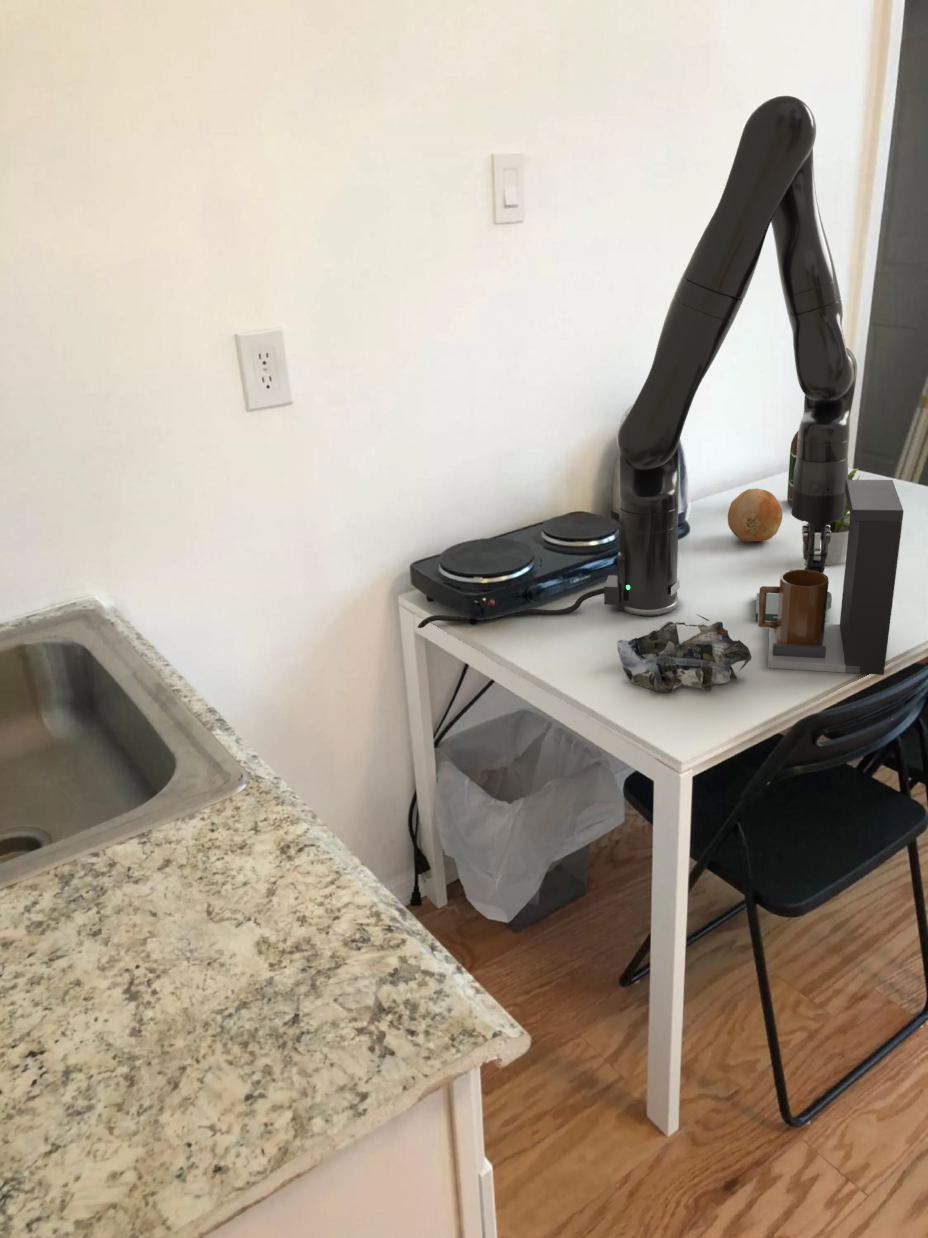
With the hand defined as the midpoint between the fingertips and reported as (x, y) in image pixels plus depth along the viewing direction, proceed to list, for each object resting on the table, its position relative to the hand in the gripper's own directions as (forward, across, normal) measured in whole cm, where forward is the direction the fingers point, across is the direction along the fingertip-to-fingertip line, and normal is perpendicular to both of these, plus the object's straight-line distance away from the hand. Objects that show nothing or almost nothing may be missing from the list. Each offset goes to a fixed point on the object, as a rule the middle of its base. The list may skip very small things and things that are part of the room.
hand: (811, 592), depth 145 cm
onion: (+4, +31, +9) cm, 32 cm away
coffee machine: (+3, -13, -1) cm, 14 cm away
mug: (+2, -13, +3) cm, 14 cm away
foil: (+3, -24, +18) cm, 30 cm away
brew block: (+3, 0, +3) cm, 5 cm away
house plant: (+4, +24, -4) cm, 24 cm away
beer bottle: (+4, +53, -1) cm, 53 cm away
